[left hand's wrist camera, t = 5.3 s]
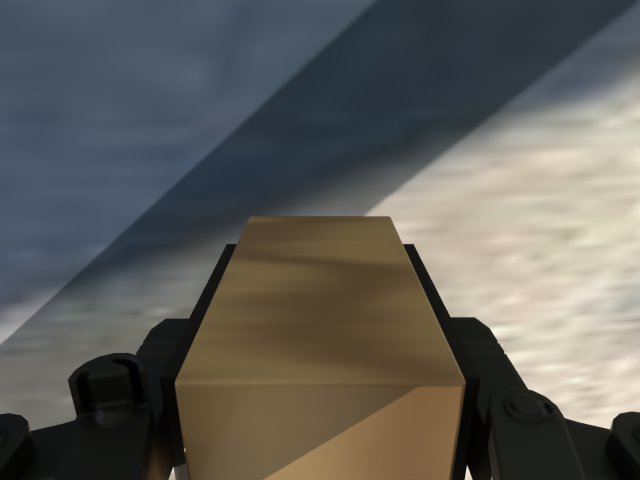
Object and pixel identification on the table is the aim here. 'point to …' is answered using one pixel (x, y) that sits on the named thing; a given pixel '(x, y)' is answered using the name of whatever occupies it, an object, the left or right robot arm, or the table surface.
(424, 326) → the beech block
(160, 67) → the table surface
